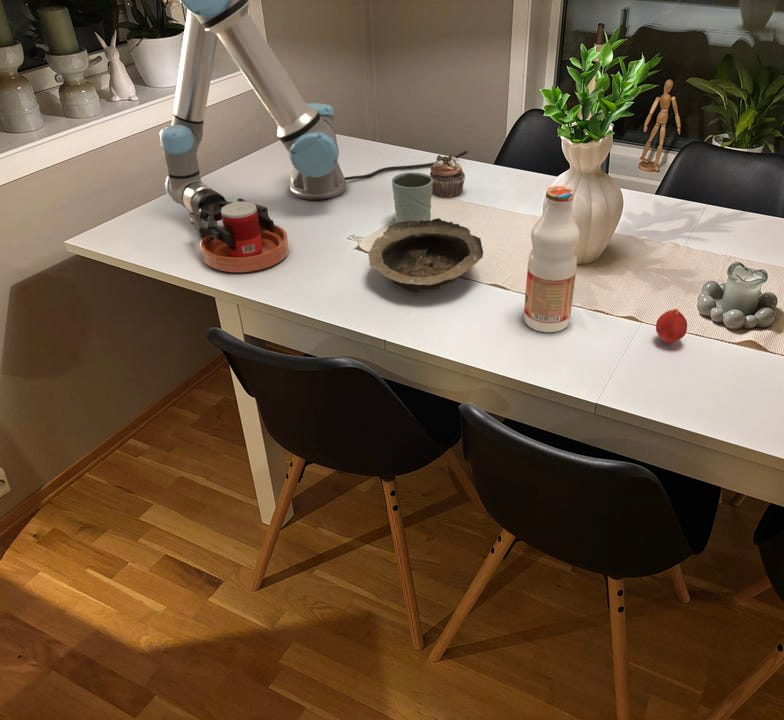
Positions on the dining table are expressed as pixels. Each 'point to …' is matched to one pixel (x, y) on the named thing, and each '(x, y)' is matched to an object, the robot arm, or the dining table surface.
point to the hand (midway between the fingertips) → (251, 233)
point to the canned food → (242, 229)
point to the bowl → (271, 254)
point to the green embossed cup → (412, 196)
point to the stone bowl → (425, 253)
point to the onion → (671, 326)
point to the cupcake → (447, 177)
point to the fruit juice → (552, 264)
